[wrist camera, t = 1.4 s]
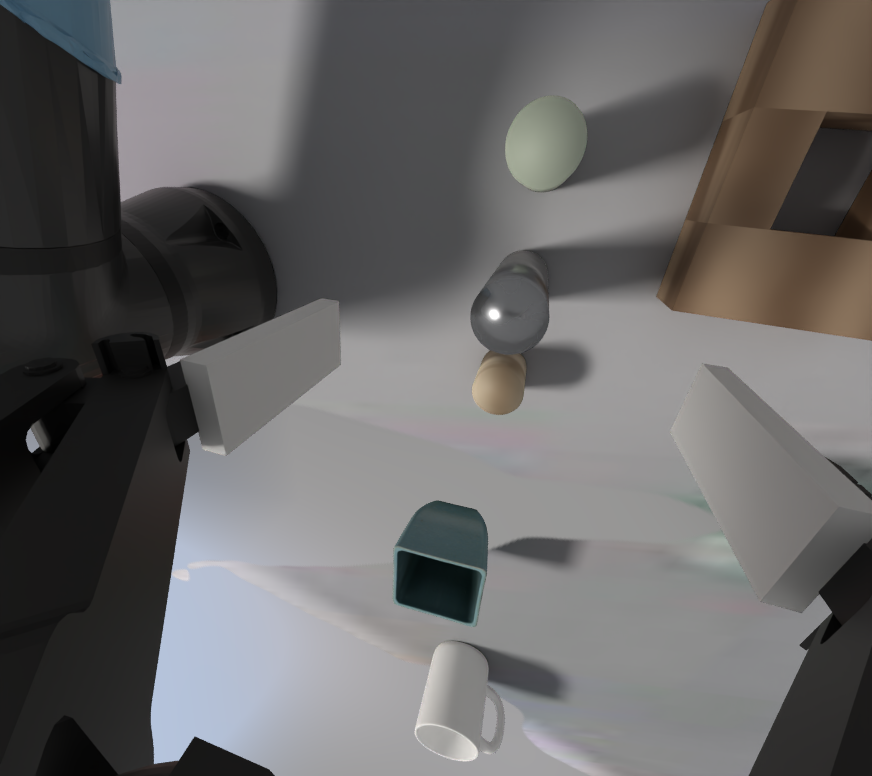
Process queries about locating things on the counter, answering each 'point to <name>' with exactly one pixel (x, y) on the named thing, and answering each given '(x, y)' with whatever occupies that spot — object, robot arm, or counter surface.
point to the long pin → (513, 305)
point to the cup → (457, 704)
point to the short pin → (500, 383)
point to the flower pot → (442, 562)
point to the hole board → (782, 181)
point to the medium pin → (546, 143)
